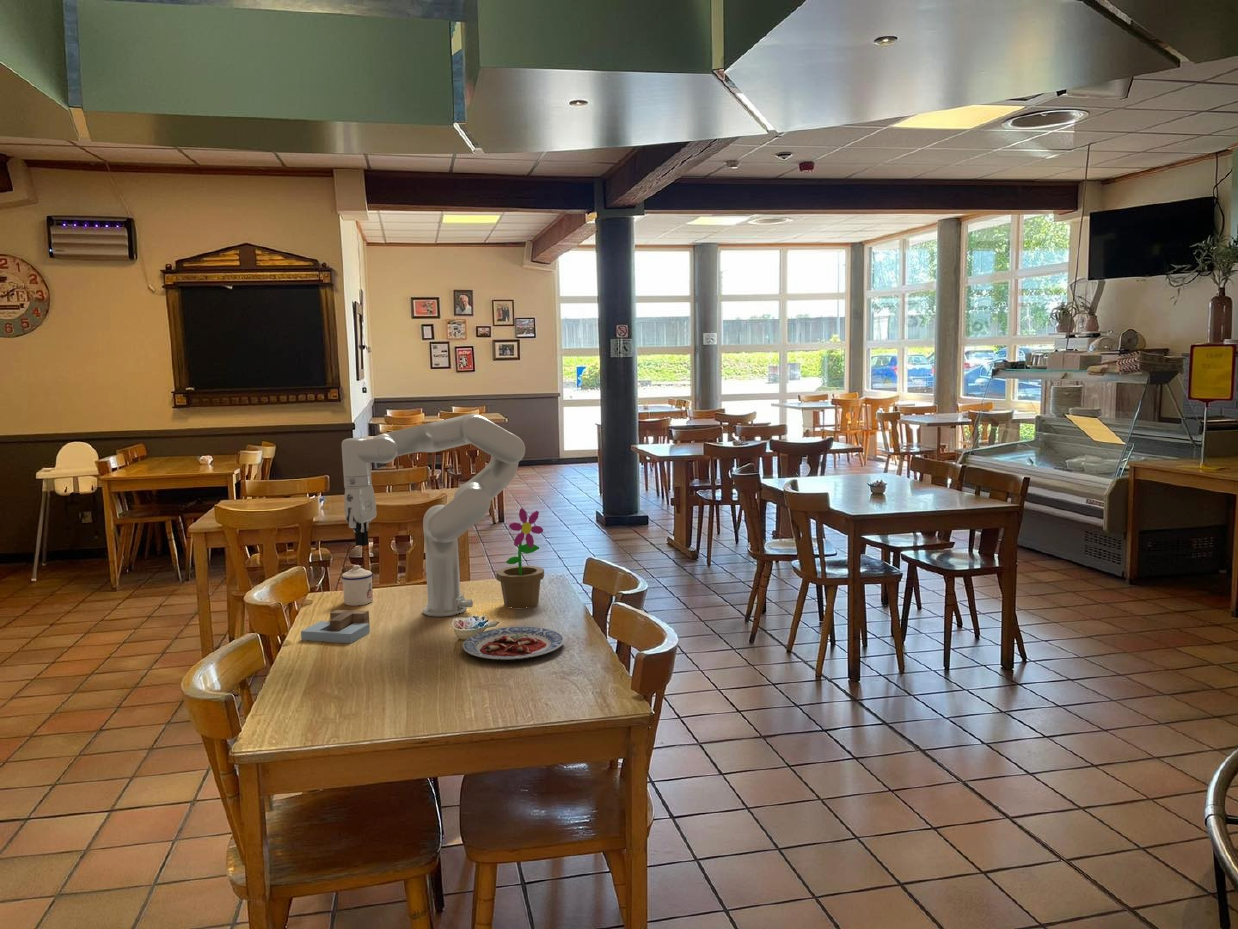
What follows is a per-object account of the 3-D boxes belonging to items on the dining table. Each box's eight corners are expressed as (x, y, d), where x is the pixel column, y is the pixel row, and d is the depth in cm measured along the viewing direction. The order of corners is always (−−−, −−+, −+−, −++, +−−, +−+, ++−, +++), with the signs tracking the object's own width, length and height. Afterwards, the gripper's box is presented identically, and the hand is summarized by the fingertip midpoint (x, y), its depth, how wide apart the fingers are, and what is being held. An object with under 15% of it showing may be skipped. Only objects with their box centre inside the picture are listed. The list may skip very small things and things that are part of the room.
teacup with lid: (374, 604, 276) (372, 567, 275) (343, 607, 274) (341, 570, 272) (372, 595, 288) (370, 559, 286) (342, 598, 285) (340, 561, 284)
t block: (369, 628, 252) (368, 610, 251) (353, 639, 242) (352, 621, 242) (336, 627, 254) (335, 610, 253) (318, 638, 244) (317, 620, 243)
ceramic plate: (540, 671, 214) (539, 658, 214) (444, 661, 223) (443, 650, 222) (579, 638, 239) (579, 627, 238) (491, 631, 247) (491, 620, 247)
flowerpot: (516, 613, 262) (512, 512, 259) (488, 604, 273) (484, 506, 269) (554, 603, 272) (551, 505, 268) (526, 595, 282) (522, 500, 279)
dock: (369, 632, 248) (369, 623, 247) (351, 643, 238) (350, 634, 238) (321, 629, 251) (320, 621, 251) (301, 640, 242) (300, 631, 242)
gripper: (355, 485, 247) (360, 551, 249) (383, 478, 262) (387, 540, 264) (331, 485, 249) (336, 550, 251) (359, 477, 263) (363, 539, 266)
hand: (362, 545), depth 258 cm, fingers closed
